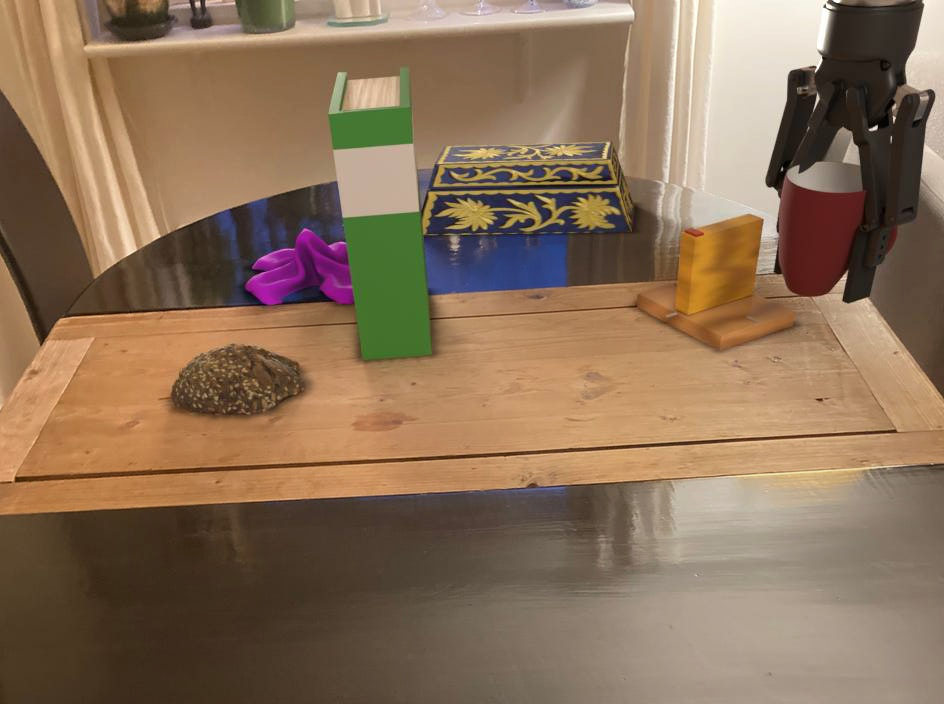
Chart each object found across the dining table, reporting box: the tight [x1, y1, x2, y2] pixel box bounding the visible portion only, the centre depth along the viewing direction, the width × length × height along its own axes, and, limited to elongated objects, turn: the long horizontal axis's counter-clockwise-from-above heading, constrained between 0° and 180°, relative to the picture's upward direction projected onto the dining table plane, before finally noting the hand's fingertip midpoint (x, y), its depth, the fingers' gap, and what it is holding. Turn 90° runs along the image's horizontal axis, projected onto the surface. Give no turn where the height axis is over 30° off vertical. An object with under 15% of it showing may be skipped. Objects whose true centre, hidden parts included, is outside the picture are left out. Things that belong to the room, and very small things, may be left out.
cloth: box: [244, 228, 355, 306], centre depth 120 cm, size 22×19×6 cm
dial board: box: [636, 281, 796, 351], centre depth 104 cm, size 14×13×2 cm
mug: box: [778, 160, 899, 298], centre depth 86 cm, size 10×8×10 cm
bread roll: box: [170, 342, 306, 416], centre depth 97 cm, size 13×12×5 cm
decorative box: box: [421, 141, 635, 236], centre depth 129 cm, size 11×30×9 cm, turn 82°
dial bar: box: [675, 213, 765, 315], centre depth 101 cm, size 9×2×8 cm, turn 119°
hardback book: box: [327, 66, 433, 361], centre depth 100 cm, size 18×7×24 cm, turn 3°
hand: (820, 283), depth 90 cm, fingers closed on mug, 8 cm apart
